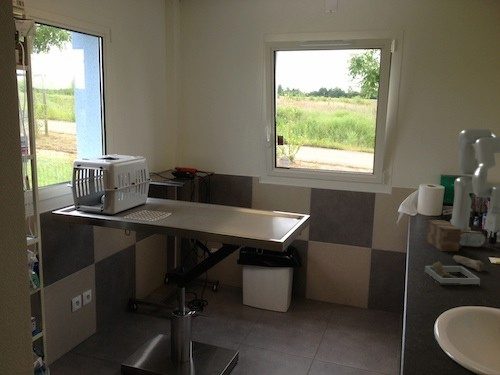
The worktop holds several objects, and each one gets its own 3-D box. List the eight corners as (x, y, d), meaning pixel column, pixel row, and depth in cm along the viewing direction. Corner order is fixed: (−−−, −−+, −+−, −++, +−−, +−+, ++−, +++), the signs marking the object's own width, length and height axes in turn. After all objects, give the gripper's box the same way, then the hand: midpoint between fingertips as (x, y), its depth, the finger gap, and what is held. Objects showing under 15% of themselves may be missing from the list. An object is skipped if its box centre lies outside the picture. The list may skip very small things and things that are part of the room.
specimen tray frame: (424, 272, 202) (425, 265, 201) (460, 272, 203) (461, 266, 202) (440, 285, 187) (441, 278, 187) (479, 285, 189) (480, 278, 188)
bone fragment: (486, 270, 207) (487, 260, 206) (477, 272, 204) (478, 263, 203) (459, 261, 219) (460, 251, 218) (451, 263, 216) (452, 253, 215)
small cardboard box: (426, 240, 249) (428, 220, 246) (449, 240, 250) (452, 220, 248) (441, 251, 232) (443, 229, 230) (466, 251, 233) (469, 229, 231)
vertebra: (455, 285, 188) (444, 263, 188) (437, 291, 192) (426, 269, 192) (458, 275, 197) (447, 254, 198) (441, 281, 201) (430, 260, 202)
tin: (483, 246, 243) (485, 230, 241) (486, 248, 240) (488, 232, 238) (454, 244, 244) (456, 229, 243) (456, 246, 241) (458, 230, 240)
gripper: (481, 206, 246) (477, 239, 250) (498, 213, 232) (493, 247, 235) (495, 206, 247) (490, 239, 250) (512, 213, 232) (507, 248, 236)
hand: (492, 243), depth 243 cm, fingers closed
